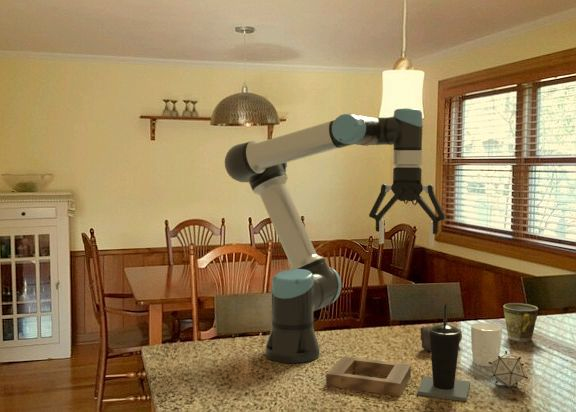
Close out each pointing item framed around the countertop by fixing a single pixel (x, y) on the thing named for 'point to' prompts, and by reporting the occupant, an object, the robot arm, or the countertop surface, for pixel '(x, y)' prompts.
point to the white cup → (485, 343)
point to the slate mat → (456, 393)
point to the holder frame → (391, 385)
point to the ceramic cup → (520, 321)
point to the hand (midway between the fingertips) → (406, 245)
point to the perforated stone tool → (428, 338)
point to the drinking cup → (444, 353)
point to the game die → (508, 370)
